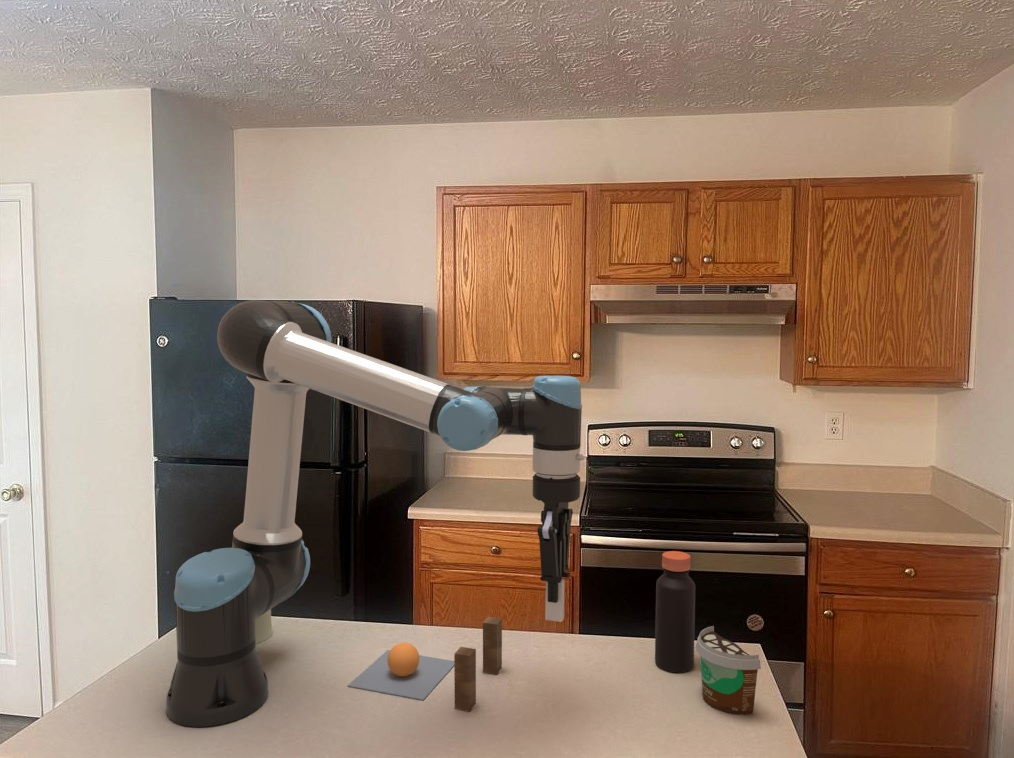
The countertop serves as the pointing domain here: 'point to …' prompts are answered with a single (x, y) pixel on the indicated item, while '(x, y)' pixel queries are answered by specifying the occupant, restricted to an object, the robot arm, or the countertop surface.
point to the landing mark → (403, 678)
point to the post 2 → (492, 645)
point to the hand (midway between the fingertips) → (554, 618)
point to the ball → (403, 659)
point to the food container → (727, 674)
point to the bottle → (675, 614)
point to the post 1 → (465, 678)
